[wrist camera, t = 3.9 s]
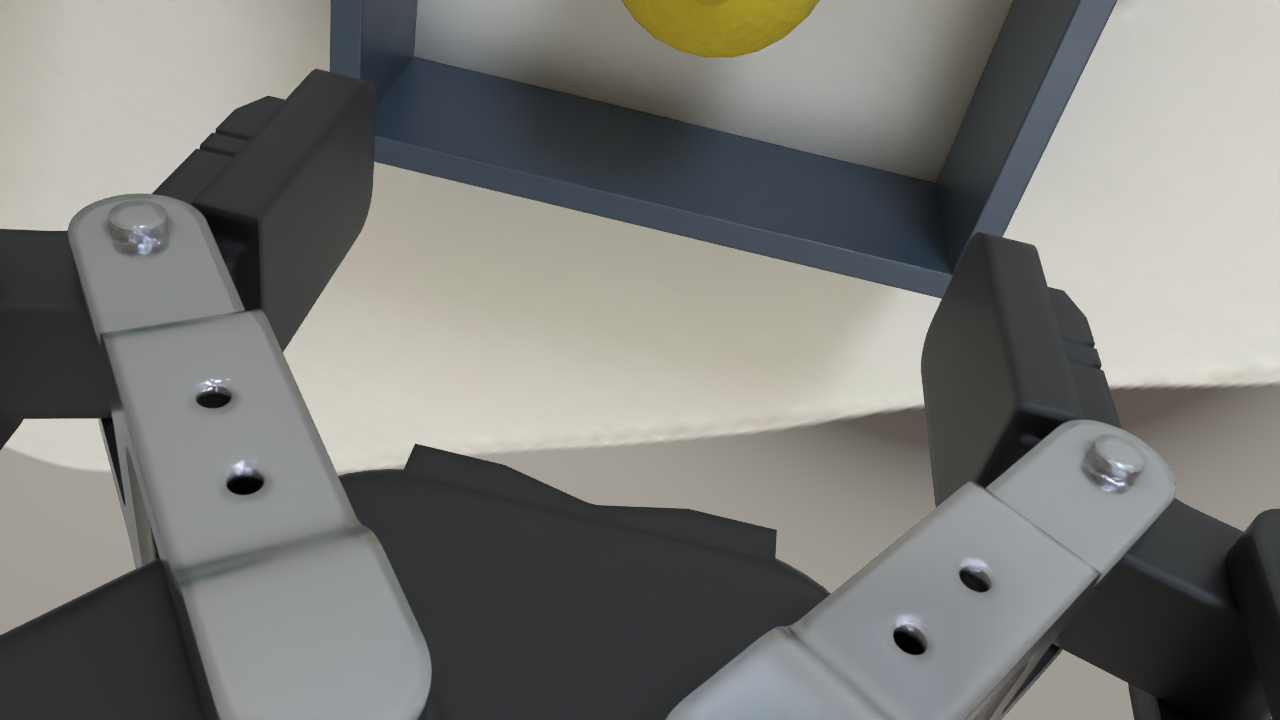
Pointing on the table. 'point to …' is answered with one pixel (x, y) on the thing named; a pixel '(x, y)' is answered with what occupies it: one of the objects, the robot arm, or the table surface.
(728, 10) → the lemon
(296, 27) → the table surface
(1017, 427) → the robot arm
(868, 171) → the rectangular frame
